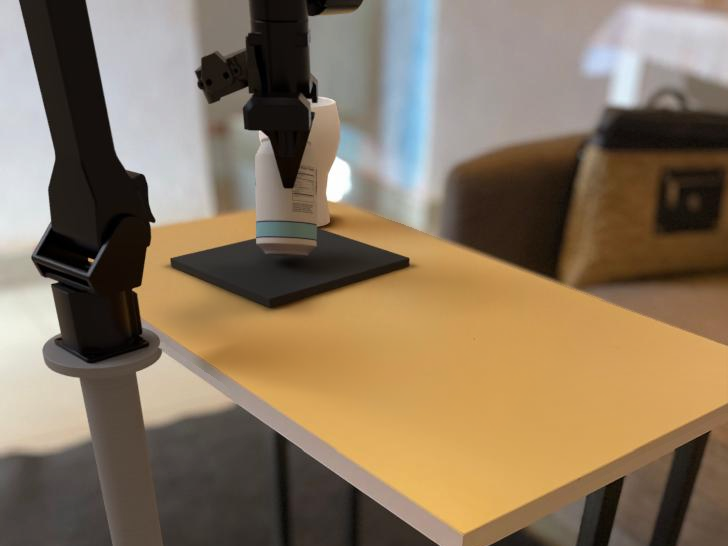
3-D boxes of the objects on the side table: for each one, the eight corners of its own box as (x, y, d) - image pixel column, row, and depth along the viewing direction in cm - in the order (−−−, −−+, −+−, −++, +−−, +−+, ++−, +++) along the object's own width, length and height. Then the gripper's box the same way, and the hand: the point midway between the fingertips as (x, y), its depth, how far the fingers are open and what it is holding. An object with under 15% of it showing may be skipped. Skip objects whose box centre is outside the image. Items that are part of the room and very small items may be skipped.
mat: (270, 308, 89) (269, 298, 88) (170, 266, 98) (169, 258, 98) (409, 265, 102) (409, 257, 102) (310, 232, 112) (310, 225, 111)
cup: (255, 228, 112) (247, 103, 104) (273, 208, 121) (268, 91, 112) (333, 234, 112) (332, 109, 103) (346, 213, 120) (346, 97, 112)
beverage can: (276, 256, 101) (275, 148, 98) (327, 257, 99) (327, 146, 95) (244, 252, 95) (242, 137, 92) (298, 253, 92) (297, 134, 89)
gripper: (210, 9, 89) (225, 166, 98) (178, 27, 74) (199, 210, 83) (315, 11, 89) (321, 168, 99) (305, 30, 74) (312, 212, 84)
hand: (288, 187), depth 91 cm, fingers closed
